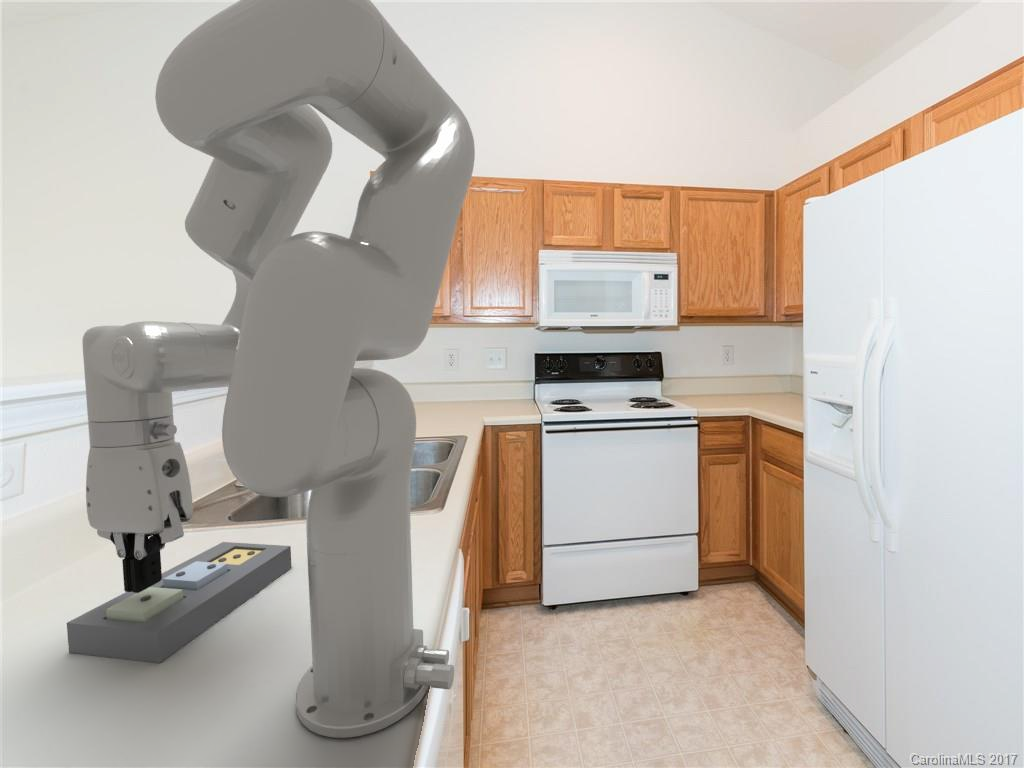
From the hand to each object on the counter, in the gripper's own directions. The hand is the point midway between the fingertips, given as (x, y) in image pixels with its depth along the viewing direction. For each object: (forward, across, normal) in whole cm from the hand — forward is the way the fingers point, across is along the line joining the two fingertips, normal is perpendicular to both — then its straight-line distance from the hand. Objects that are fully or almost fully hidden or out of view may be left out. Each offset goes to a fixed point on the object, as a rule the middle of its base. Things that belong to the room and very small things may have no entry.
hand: (143, 586), depth 53 cm
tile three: (+5, 0, -14) cm, 15 cm away
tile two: (+4, 0, -7) cm, 8 cm away
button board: (+6, 0, -7) cm, 9 cm away
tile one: (+4, 0, 0) cm, 4 cm away
